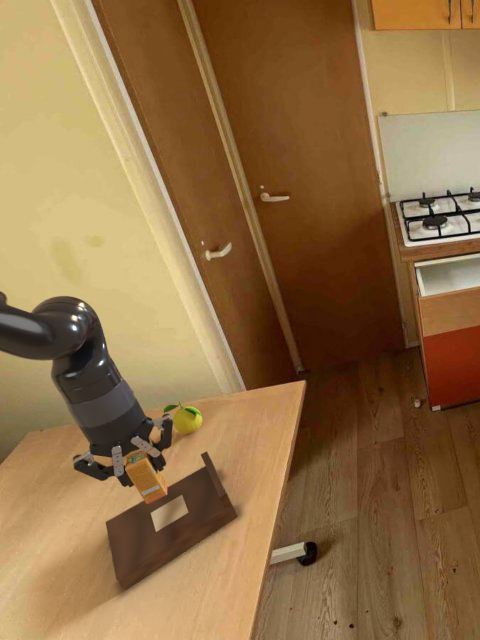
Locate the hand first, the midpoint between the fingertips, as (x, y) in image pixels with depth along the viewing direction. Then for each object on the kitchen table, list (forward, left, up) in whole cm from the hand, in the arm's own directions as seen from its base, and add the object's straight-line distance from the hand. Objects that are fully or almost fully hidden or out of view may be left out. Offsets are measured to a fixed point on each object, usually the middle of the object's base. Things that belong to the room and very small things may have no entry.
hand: (146, 475), depth 78 cm
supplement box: (0, 0, -6) cm, 6 cm away
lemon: (+8, +25, -16) cm, 31 cm away
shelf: (0, 0, -16) cm, 16 cm away
